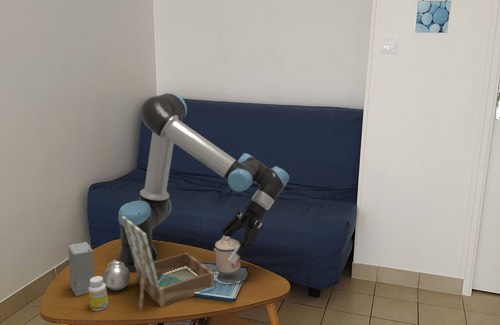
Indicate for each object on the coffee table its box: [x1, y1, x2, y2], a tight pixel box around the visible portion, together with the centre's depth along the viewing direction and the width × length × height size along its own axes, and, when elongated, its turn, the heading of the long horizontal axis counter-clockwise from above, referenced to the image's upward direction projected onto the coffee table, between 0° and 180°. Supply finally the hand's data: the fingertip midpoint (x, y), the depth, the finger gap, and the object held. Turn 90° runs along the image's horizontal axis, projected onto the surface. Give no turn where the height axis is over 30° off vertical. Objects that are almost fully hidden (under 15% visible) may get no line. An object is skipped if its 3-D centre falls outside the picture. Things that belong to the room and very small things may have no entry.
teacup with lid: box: [214, 236, 241, 273], centre depth 166 cm, size 12×9×12 cm
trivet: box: [215, 267, 248, 283], centre depth 167 cm, size 12×12×1 cm
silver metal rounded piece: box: [103, 259, 131, 291], centre depth 159 cm, size 9×10×10 cm
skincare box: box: [67, 241, 95, 297], centre depth 158 cm, size 8×7×16 cm
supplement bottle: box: [88, 275, 109, 311], centre depth 148 cm, size 5×5×10 cm
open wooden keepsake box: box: [122, 216, 215, 312], centre depth 157 cm, size 20×27×26 cm
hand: (223, 257), depth 163 cm, fingers closed on teacup with lid, 9 cm apart
